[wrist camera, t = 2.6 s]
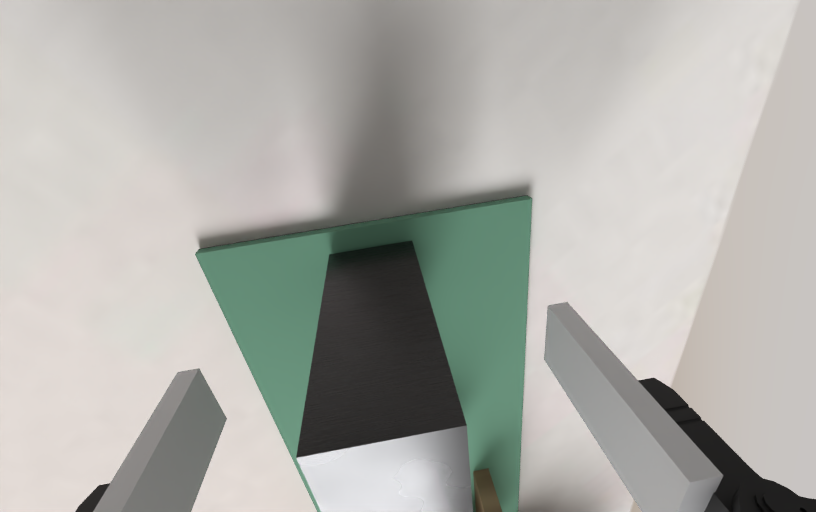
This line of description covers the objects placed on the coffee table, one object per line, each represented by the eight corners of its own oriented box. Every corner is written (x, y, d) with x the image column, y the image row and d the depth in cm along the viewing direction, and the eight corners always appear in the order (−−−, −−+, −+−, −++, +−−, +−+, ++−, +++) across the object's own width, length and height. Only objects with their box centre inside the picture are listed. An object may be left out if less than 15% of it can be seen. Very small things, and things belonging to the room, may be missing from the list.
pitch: (199, 249, 17) (195, 254, 16) (527, 195, 18) (532, 198, 17) (343, 558, 32) (342, 565, 32) (515, 523, 33) (517, 529, 33)
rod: (308, 257, 17) (252, 466, 8) (432, 237, 17) (508, 417, 8) (367, 454, 24) (371, 673, 16) (453, 438, 25) (504, 643, 16)
